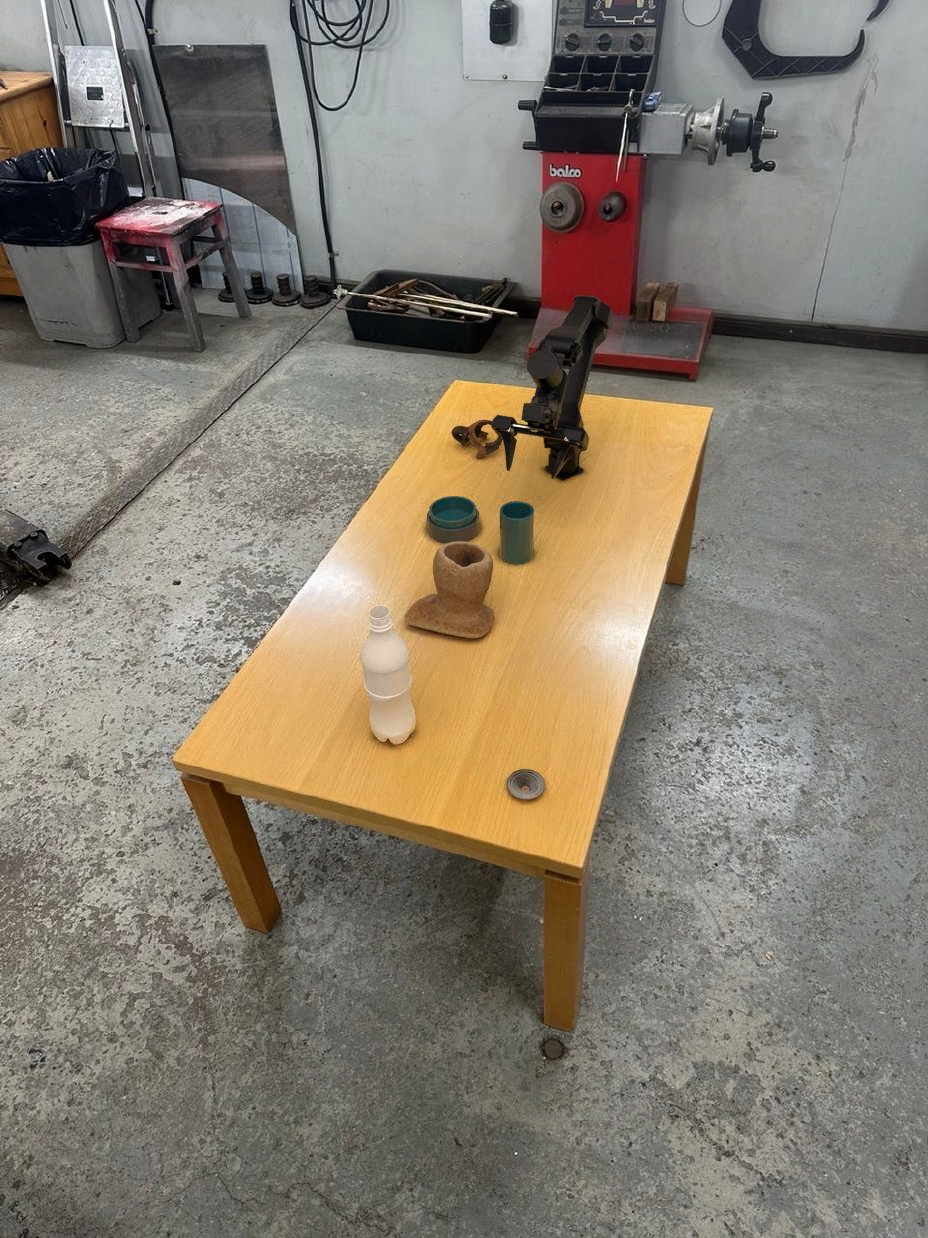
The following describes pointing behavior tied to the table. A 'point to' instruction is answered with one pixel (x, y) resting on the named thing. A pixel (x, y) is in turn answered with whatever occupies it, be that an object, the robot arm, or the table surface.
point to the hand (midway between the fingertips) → (530, 474)
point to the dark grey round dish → (525, 784)
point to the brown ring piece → (476, 437)
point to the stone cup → (457, 593)
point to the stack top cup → (452, 512)
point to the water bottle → (387, 678)
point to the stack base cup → (453, 531)
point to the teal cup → (516, 532)
